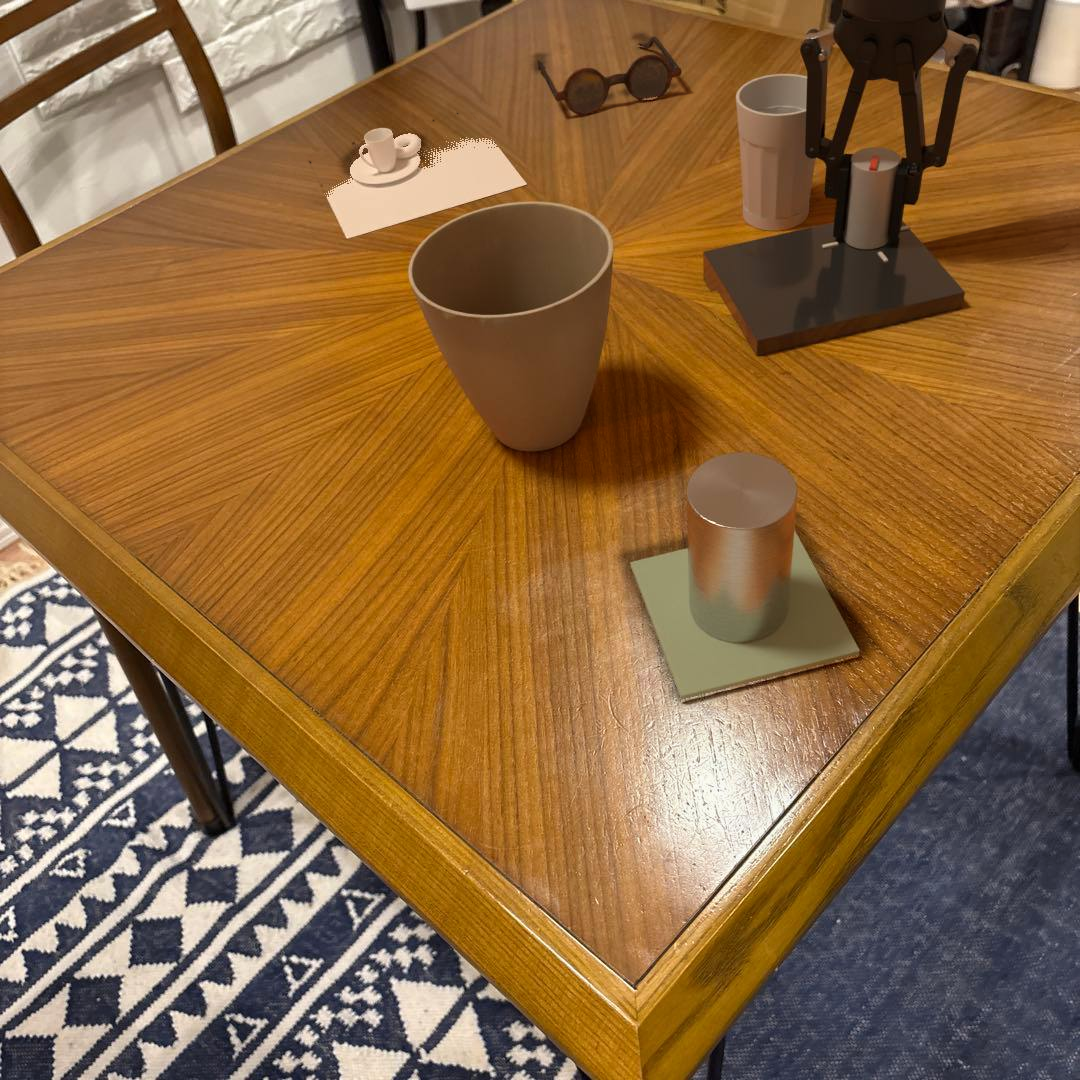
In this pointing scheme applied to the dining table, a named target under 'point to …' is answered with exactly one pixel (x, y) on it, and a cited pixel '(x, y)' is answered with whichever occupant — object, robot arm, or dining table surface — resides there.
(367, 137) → the teacup and saucer
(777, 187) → the cup
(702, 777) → the dining table surface
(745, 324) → the hob control panel
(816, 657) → the trivet
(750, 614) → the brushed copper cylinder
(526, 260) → the plant pot
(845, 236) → the hob knob
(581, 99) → the eyeglasses
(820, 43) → the robot arm
